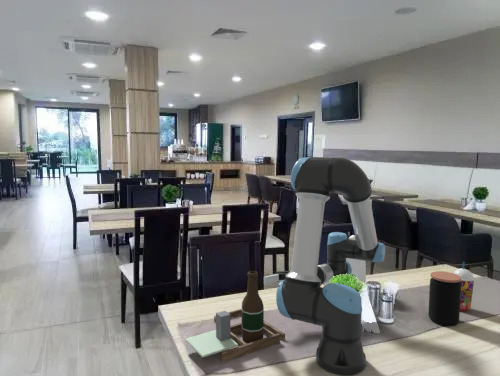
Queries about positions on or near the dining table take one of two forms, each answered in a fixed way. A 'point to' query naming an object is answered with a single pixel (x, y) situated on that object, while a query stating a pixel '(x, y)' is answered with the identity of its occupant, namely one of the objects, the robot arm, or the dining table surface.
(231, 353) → the brown flat frame
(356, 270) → the milk
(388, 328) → the dining table surface
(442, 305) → the coffee jar
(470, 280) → the smoothie
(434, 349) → the dining table surface
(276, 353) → the dining table surface
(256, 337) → the beer bottle
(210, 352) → the cover
